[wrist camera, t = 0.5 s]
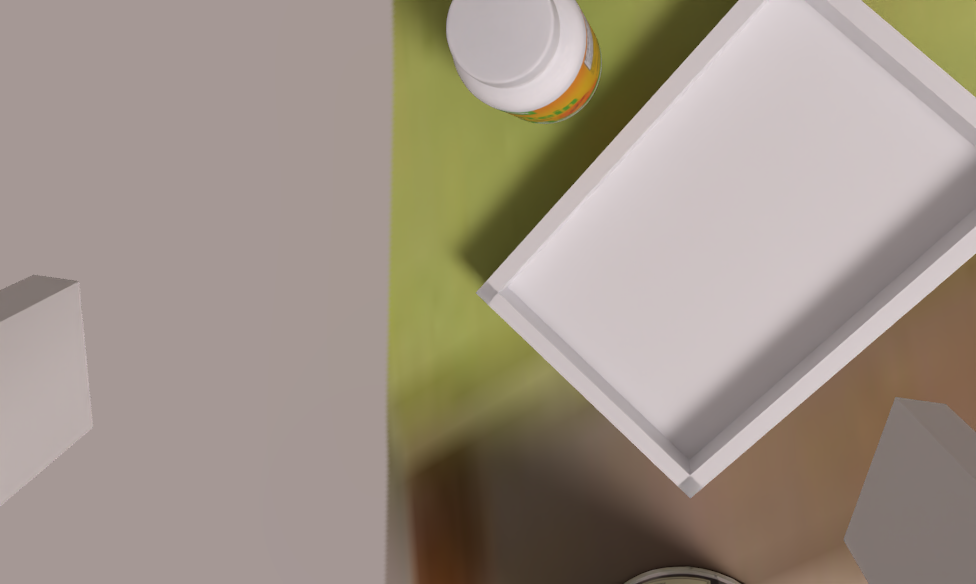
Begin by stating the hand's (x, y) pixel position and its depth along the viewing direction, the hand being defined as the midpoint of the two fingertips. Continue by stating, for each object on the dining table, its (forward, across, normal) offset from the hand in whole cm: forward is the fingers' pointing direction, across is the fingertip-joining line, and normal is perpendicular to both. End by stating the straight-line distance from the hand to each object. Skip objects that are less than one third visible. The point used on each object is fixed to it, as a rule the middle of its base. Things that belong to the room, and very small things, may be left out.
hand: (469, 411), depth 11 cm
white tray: (+23, +10, -2) cm, 25 cm away
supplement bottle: (+26, +1, +4) cm, 26 cm away
